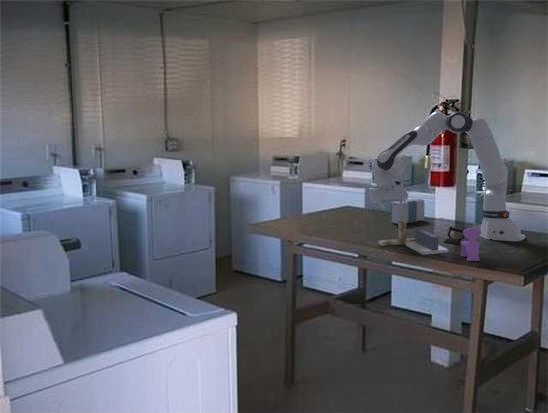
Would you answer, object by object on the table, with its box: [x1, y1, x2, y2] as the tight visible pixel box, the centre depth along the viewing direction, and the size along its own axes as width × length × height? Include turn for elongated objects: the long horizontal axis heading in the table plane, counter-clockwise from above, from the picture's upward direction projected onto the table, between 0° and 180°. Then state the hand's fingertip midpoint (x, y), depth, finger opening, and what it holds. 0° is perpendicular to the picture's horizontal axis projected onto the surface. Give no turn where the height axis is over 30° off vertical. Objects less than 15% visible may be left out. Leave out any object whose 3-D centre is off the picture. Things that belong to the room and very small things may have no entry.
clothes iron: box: [443, 225, 466, 246], centre depth 310 cm, size 7×11×10 cm, turn 41°
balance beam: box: [378, 220, 415, 247], centre depth 312 cm, size 24×4×12 cm, turn 102°
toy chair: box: [460, 226, 481, 262], centre depth 280 cm, size 8×9×15 cm
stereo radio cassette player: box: [390, 188, 426, 225], centre depth 364 cm, size 21×8×20 cm, turn 123°
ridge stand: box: [404, 228, 449, 256], centre depth 299 cm, size 20×13×8 cm, turn 12°
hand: (392, 207), depth 322 cm, fingers open, 8 cm apart
